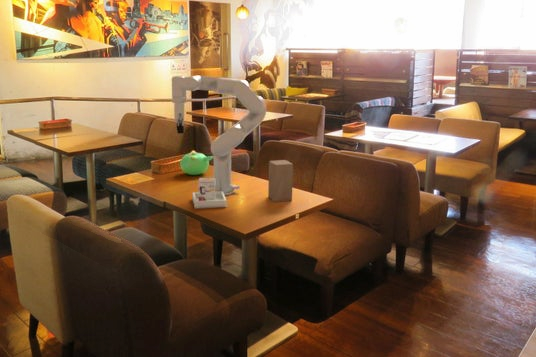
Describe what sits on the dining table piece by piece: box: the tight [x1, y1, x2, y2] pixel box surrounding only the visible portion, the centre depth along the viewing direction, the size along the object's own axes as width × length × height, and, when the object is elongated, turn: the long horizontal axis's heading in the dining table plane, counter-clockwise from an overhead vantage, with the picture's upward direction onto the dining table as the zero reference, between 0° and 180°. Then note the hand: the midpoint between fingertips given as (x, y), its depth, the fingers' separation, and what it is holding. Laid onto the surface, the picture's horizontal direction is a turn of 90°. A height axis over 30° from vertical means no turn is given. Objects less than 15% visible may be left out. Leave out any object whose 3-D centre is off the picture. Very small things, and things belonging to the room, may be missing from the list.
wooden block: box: [267, 159, 294, 203], centre depth 267 cm, size 10×10×20 cm
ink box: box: [198, 177, 216, 201], centre depth 258 cm, size 9×5×12 cm, turn 94°
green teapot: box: [179, 150, 214, 176], centre depth 314 cm, size 18×17×15 cm
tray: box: [192, 191, 228, 209], centre depth 259 cm, size 16×16×4 cm
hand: (180, 131), depth 271 cm, fingers open, 9 cm apart
